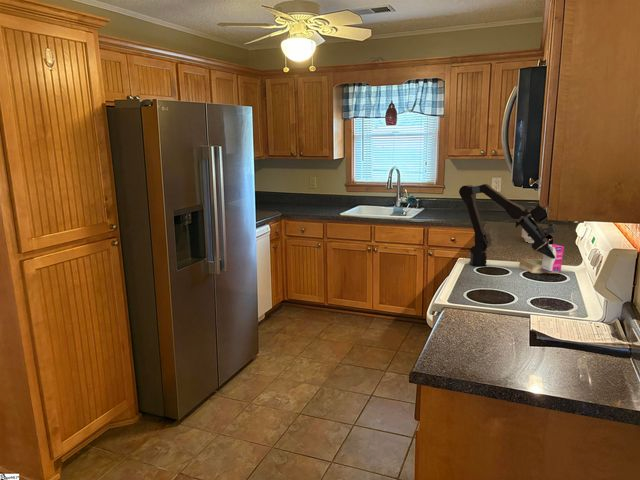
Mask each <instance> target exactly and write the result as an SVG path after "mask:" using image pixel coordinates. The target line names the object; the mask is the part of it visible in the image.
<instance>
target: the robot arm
mask: <svg viewBox="0 0 640 480" xmlns="http://www.w3.org/2000/svg"><path fill="white" fill-rule="evenodd" d="M458 193H459V195H460V198H461V200H462V201H463V203H465V206H466V208H467V211H468V215H469V218H470V221H471V225H472V228H473V232H474V239H473V241H474V245H473V246H472V247H471V248H469V252H470V259H469V262H468V264H469V263H470V265H471V266H472V267H487V259H488V258H487V253H486V252H487V250H488V249H489V248H490V247H491V246H492V241H493V239H492V238H491V233H490V232H488V233H487V232H486V231H485V229H484V225H483V222H482V219H481V216H480V212H479V209H478V206H477V202H476V201H477V194H481V193H482V194H484V195H485V196H487V197H488V198H490V199H491V200H492V201H494V202H495V203H496V204H498V206H500V207H502V208H503V210H505V212H506V213H507V214H508V216H510V218H512V219H513V220H516V221H515V226H514V227H515V228H519V227H520V226H521V228H522V229H524V230H525V231H526V233H527V234H528V235H527V236H528V237H531V238H532V240H533V241H534V242H533V244H532V243H531V248H532V250H533V251H536V252H537V253H540V254H545V255H547V256H549V257H551V258H553V259H554V258H555V256H554V254H553V252H552V251H551V249H550V248H549V244H555V235H554V234H555V233H558V232H559V229H558V226H557V224H554V223H553V222H552V223H548V224H547V226H546V227H543V226H539V225H538V222H539V223H542V222H544V221H545V220H546V219H547V218H548V217H547V213H546V209H545V208H541V207H540V206H539V204H540V203H539V204H537V206H535V207H533V209H526V208H525V207H524V206H523V205H521V204H518V203H516V202H514V201H511V200H510V199H508V198H506V197H505V196H504V195H503V194H501V193H500V192H499V191H497V190H496V189H494V188H493V187H492V186H491V185H490V184H487V183H483V184H481V185H474V186H473V185H472V184H466V185H463V186H460V188H459V190H458ZM527 216H528V217H527Z"/></svg>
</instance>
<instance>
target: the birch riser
mask: <svg viewBox="0 0 640 480" xmlns="http://www.w3.org/2000/svg"><path fill="white" fill-rule="evenodd" d="M542 261H543V258H542V259H541V258H535V259H533V258H531V259H529V258H528V259H527V258H522V259H521V258H520V259H519V267H520V268H521V269H523V270H525V271H528V272H530V273H531V274H561V272H548V271H545V270H542V269H541V268H542Z"/></svg>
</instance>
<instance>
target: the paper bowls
mask: <svg viewBox="0 0 640 480" xmlns="http://www.w3.org/2000/svg"><path fill="white" fill-rule="evenodd" d="M527 235H528V234H527V233H526V231H525V230H524V229H523V228H522V229H521V235H520V236H521V238H523V239H524V241H525V243H527V242H528V243H529V244H532V243H533V242H534V241H533V240H532V238H531V237H528V236H527Z"/></svg>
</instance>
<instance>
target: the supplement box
mask: <svg viewBox="0 0 640 480" xmlns="http://www.w3.org/2000/svg"><path fill="white" fill-rule="evenodd" d="M549 248H550V249H551V251H552V252H553V254H554V256H555V258H554V259H553V258H551V257H549V256H547V255H545V254H543V253H542V254H543V255H542V259H543V261H542V268H541V269H542V270H545V271H548V272H560V273H561V271H562V264H563V256H564V249H565V246H562V245H558V244H556V243H554V244H549Z"/></svg>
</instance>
